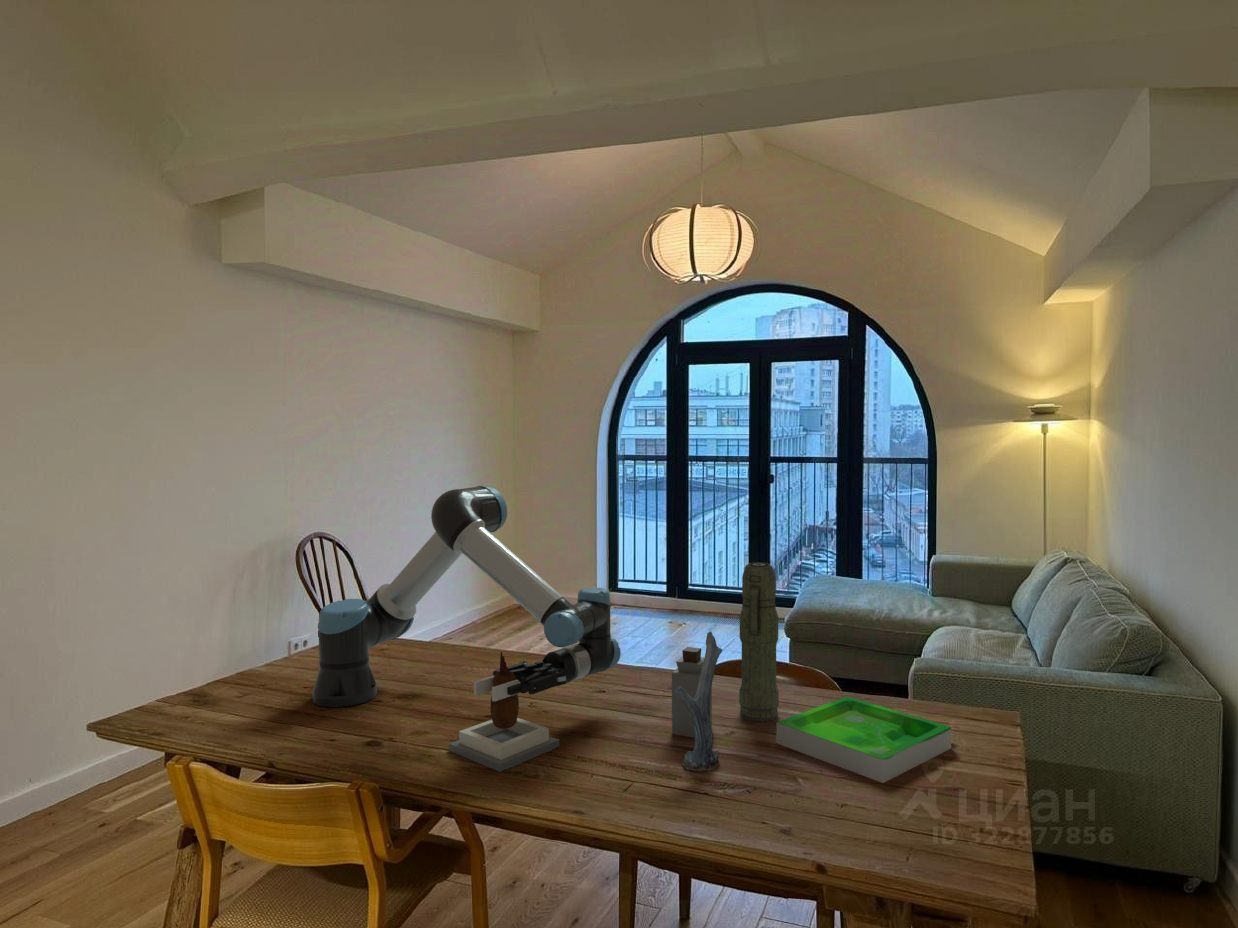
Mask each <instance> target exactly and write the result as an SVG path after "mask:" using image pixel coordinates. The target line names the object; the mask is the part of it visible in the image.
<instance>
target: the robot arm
mask: <svg viewBox="0 0 1238 928" xmlns="http://www.w3.org/2000/svg"><path fill="white" fill-rule="evenodd" d="M507 517H508V505H507V503H506V500H505V498H504V496H503V495H502V493H501V492H500V491H499V490H497V489H496V488H494V487H493V486H492V487H491V486H484V485H478V486H472V487H466V488H455V489H450V490H447V491H445V492H444V493H441V495H440V496H438V498H437V499H436V500H435V502H434V503H433V505H432V509H431V517H430V519H431V523H432V524H431V525H432V527H433V529H434V530H435V532H434V533H433V535H432V536H430V538H429V539H428V540H427V541H426V542H425V543H424V544H423V546H422V547H421V548H420V549H419V551H418V552H416V554H415V555H414V556H413V557H412V559H411V560H410V561H409V562H408V563H407V564H406V565H405V566H404V568H403V569H402V570H401V571H400V572H399V573H398V574H397V576H396V577H394V579H393V580H392V581H391V582H390V583H385V584H384V583H383V584H381V586H379V587H378V588H377V590H376V591H375V592H374V593H372V595H371V596H370V597H369V598H368V599H366V600H365V599H361V598H348V599H347V598H346V599H343V600H337V601H333V602H330V603H328V604H326V605H325V606H323V608H321V610H320V611H319V614H318V623H317V629H318V630H317V631H318V632H317V633H318V655H319V656H318V658H319V659H318V660H319V661H318V662H319V667H318V668H319V669H318V673H317V676H316V678H315V679H316V680H315V682H314V683H315V684H314V685H313V689H312V703H314V704H315V705H316V706H319V707H324V708H325V707H326V708H344V707H350V706H351V707H352V706H357V705H361V704H363V703H366V702H369V701H371V700H373V699H375V697H377V695H378V686H377V682H376V679H375V676H374V674H373V670H372V668H371V666H370V649H369V648H372V647H374V646H378V645H380V644H383V643H385V642H389V641H393V640H397V638H398V639H399V638H400V637H401V636H403V635H404V634H406V633H407V632H408V631H409V630H410V628H411V627H412V625H413V624H414V621H415V619H414V616H415V615H416V613H417V604H418V603H419V602H420V601H421V600H422V599H423V598H424V597H425V596H426V595H427V594H428V592H429V591H430V590H431V589H432V587H434V585H435V584H436V583H438V581H439V580H440V579H441V577H442V576H444V574H445V573H446V572H447V571H448V570H449V569H450V568H451V566H453V564H454V563H455V562H456V561H457V560H458V559H459V557H461V555H462V554H463V555H464V556H465V557H466V558H468V559H469V560H470V562H472V563H473V564H474V565H475V566H476V567H477V568H479V570H481V571H482V572H483V573H484V574H485V575H487V576H488V578H490V579H491V580H492V581H493V582H495V583H496V584H497V585H498V586H499V587H500V588H501V589H502V590H503V591H505V592H506V594H508V595H509V596H510V597H511V598H512V599H513V600H515V602H517V603H518V604H519V605H520V606H521V607H523V609H525V611H527V612H528V613H529V614H530V615H531V616H532V617H534V618H535V619H536V620H537V621H538V622H539V623H540V624H541V625H542V626H543V633H544V635H545V638H546V640H547V641H548V642H549V643H550V645H552V646H554V647H557V648H559V649H556V650H553V651H549V652H547V653H546V654H545V656H544V657H543V659H542V661H536V662H534V663H531V664H528V661H526V660H522V661H520V662H519V663H516V664H513V665H508V666H507V667H508V671H511V672H513V673H514V675H515V679H516V680H514V681H510V682H507V683H504V684H501V685H498V686H495V687H494V686H493V678H494V675H495V674H496V673H497V672H499V671H500V668H499V669H495V670H493V671H492V676H488V677H485V678H482V679H479V680H475V681H473V696H477V697H478V696H480V695H483V694H486V693H489V692H491V696H492V701H494V702H495V701H498V700H501V699H504V698H507V697H510V696H513V695H516V694H517V695H518V694H527V692H528V694H529V695H532V696H533V695H535V694H537V693H540V692H543V691H545V690H549V689H552V688H554V687H560V686H564V685H566V684H569V683H570V682H574V683H576V682H577V680H579V679H582V678H586V677H588V676H591V675H594V674H598V673H601V672H605V671H607V670H608V669H609V670H610V669H611V668H612V667H614V666H616V665H617V664H618V663H619V661H620V659H621V655H622V652H621V648H620V645H619V642H618V641H617V639H615V638H614V637H613V636H612V634H611V606H612V604H611V594H610V591H609V590H608V589H606V588H604V587H596V586H595V587H584V588H581V589H579V591H578V592H577V599H576V600H577V601H576V602H577V603H575V604H572V603H571V602H570V601H569V600H567V599H566V598H565V597H564V596H563V595H562V594H560V593H559V592H558V591H557V590H556V589H555V588H554V587H552V586H551V584H549V583H548V582H547V581H546V580H544V578H542V577H541V576H540V575H539V574H538V573H536V571H534V570H533V568H531V567H530V566H529V565H528V564H526V563H525V562H524V561H523V560H522V559H521V558H520V557H518V556H517V555H516V554H515V553H514V552H513V551H512V550H510V549H509V548H508V547H507V546H506V545H505V544H504V543H503V542H502V541H500V540H499V539H498V538H497V537H496V536H495V535H493V534H492V533H495V532H497V531H498V530H500V529H501V528H502V527H503V526H504V524H505V523H506V521H507Z"/></svg>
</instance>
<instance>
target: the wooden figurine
mask: <svg viewBox="0 0 1238 928" xmlns="http://www.w3.org/2000/svg"><path fill="white" fill-rule="evenodd" d="M505 658H506V657H505V655H503V652H502V651H500V660H499V669H500V671H499V672H497V673H496V674H495V675H494V678H493V686H494V687H495V686H498V685H501V684H504V683H507V682H510V681H514V680H516V679H515V675H514V673H513V672H511V671H508V667H509V666H507V662H506V659H505ZM519 703H520V702H519V695H518V694H516V695H513V696H510V697H507V698H504V699H501V700H498V701H495V702H494V701H492V695H491V697H490V717H491V720H492V721H493V724H494V725H495V726H496V727H497V728H501V729H505V728H510V727H512V726H514V725H515V724H516V721H517V718H519V717H518V716H519V711H520V710H519V708H520V707H519V706H520V704H519Z"/></svg>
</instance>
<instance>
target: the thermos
mask: <svg viewBox="0 0 1238 928" xmlns="http://www.w3.org/2000/svg"><path fill="white" fill-rule="evenodd" d="M773 567H774V566H773V565H772V564H770V563H768V562H762V561H761V562H760V561H758V562H755V561H754V562H749V563H748V564H746V565H745V567H744V570H743V572H742V577H741V579H742V580H741V584H742V585H741V590H742V591H741V593H742V594H741V597H742V604H741V606H742V607H741V611H740V614H739V640H740V642H741V685H740V688H739V690H738V691H739V694H738V696H739V699H738V702H739V707H740V708H739V715H740V717H742V718H744V719H746V720H748V721H754V722H771V721H774V720H776V719H778V716H779V712H778V708H779V703H780V702H779V699H780V698H779V696H780V695H779V692H780V691H779V687H778V684H777V643H778V642H779V615H778V612H777V609H776V608H777V607H776V606H777V604H776V598H777V595H776V594H777V593H776V592H777V585H776V584H777V583H776V582H777V580H776V579H777V578H776V577H777V576H776V573H775V570H774V568H773Z"/></svg>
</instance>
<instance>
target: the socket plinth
mask: <svg viewBox="0 0 1238 928" xmlns="http://www.w3.org/2000/svg"><path fill="white" fill-rule="evenodd" d="M549 730H550V729H549V728H548V727H546V726H543V725H541V724H537V723H535V722H531V721H529V720H525V719H522V718H519V717H517V721H516V724H515V725H514V726H512V727H510V728H505V729H501V728H497V727H496V726H495V725H494V724H493V721H492V719H490V720H487V721H484V722H481V723H479V724H475V725H473V726H469V727H467V728H464V729H461V730H459V731H458V733H459V734H458V736H459V737H458V740H455V741H452V742H449V743H448V751H449V752H451V753H453V754H456V755H458V756H461V757H463V758H466V759H468V760H470V761H473V762H476V763H478V764H480V765H483V766H484V767H487V768H490V769H492V770H494V771H497V772H499V773H500V772H501V773H502V772H503V770H504V771H506V770H508V769H510V767H511V768H513V767H515V766H518V765H520V764H522V762H523V763H525V762H527V761H530V760H531V759H534V758H536V756H537V757H539V756H540V755H544V754H546V753H548V752H550V750H551V751H553V750H555V749H557V748H556V747H558V748H559V747H560V739H558V738H555V737H552V736H550V731H549ZM554 748H555V749H554ZM552 749H553V750H552ZM547 751H548V752H547ZM545 752H546V753H545ZM543 753H544V754H543ZM529 759H530V760H529ZM505 769H506V770H505Z"/></svg>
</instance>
